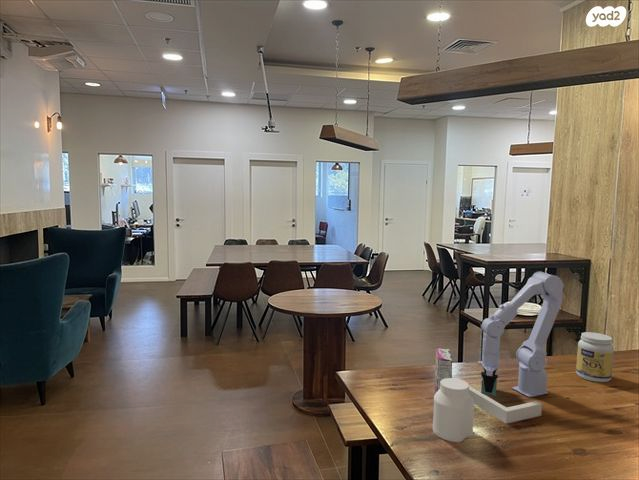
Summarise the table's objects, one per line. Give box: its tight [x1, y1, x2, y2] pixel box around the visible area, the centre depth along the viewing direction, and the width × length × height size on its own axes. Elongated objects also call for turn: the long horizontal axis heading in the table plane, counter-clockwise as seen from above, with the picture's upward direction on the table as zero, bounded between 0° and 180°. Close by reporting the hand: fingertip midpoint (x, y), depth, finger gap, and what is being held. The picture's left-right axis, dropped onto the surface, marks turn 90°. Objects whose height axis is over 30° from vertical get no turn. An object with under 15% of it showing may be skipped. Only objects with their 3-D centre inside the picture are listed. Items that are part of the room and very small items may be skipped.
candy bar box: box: [434, 347, 453, 395], centre depth 151 cm, size 11×5×16 cm, turn 168°
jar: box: [432, 377, 475, 443], centre depth 129 cm, size 12×10×15 cm
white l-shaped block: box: [469, 385, 543, 425], centre depth 147 cm, size 15×20×4 cm
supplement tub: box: [575, 331, 615, 383], centre depth 172 cm, size 12×12×17 cm
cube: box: [480, 377, 498, 397], centre depth 158 cm, size 5×5×5 cm
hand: (488, 387), depth 158 cm, fingers open, 7 cm apart
